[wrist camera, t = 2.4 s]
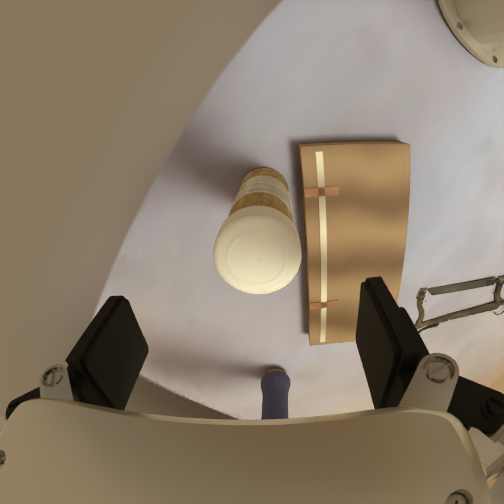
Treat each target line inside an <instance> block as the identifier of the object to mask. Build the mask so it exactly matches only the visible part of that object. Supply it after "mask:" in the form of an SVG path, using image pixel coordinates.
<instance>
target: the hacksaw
mask: <svg viewBox="0 0 504 504" xmlns="http://www.w3.org/2000/svg"><path fill="white" fill-rule="evenodd" d="M494 283H497V288H496V290H495V291H496V292H495V301H496V302H493V303H490V304H485V305H482V306H478V307H474V308H470V309H466V310H462V311H458V312H454V313H450V314H446V315H443V316H440V317H437V318H434V319H430V320H427V321H424V322H423V318H424V309H423V307H422V304H423V299H424V297H425V293H426V290H427V291H428V292H429V293H430V294H431V295H437V294H443V293H450V292H456V291H462V290H468V289H473V288H479V287H484V286H489V285H494ZM503 284H504V275H503V276H499V277H498V279H496V278H490V279H485V280H478V281H473V282H466V283H460V284H454V285H448V286H447V285H446V286H441V287H433V288H428V289H427V287H426V288H420V289H421V290H419V292H418V295H417V298H416V299H418V300H417V307H418V311H419V317H418V320H417V321H416V324H415V327H416V329H418V328H422V327H424V326H427V327H425V328H423V329H421V330H419V331H418V333H420V332H421V331H423V330H425V329H428V328H432V327H437V326H438V325H439V324H437V323H440V322H444V321H448V320H449V319H450V320H452V319H456V318H459V317H465V316H469V315H474V314H477V313H482V312H486V311H491V310H494V309H497V308H498V307H499V306H500V305H503V304H504V301H501V300H502V298H501V297H500V292H501V289H502V285H503ZM493 293H494V292H493ZM425 302H426V301H425ZM503 312H504V311H503ZM503 312H502V313H503ZM502 313H500V314H502ZM494 314H496V313H494ZM500 314H496V315H500ZM432 324H434V325H432ZM429 325H431V326H429Z"/></svg>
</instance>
